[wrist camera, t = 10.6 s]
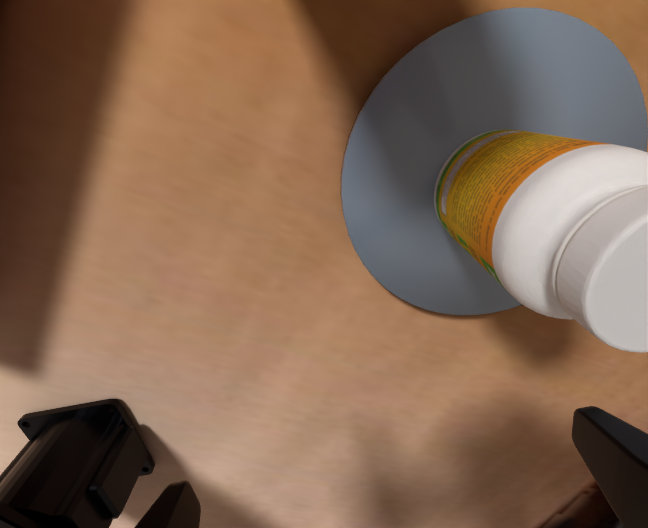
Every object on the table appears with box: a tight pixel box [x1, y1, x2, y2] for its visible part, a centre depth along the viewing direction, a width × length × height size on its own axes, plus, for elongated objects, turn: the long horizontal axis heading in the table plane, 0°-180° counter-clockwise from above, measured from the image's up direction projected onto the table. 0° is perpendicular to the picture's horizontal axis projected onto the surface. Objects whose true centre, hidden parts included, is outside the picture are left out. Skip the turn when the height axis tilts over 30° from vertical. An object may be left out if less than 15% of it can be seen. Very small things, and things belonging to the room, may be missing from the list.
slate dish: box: [341, 8, 648, 315], centre depth 18 cm, size 14×14×1 cm
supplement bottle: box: [434, 129, 648, 352], centre depth 13 cm, size 5×5×10 cm
